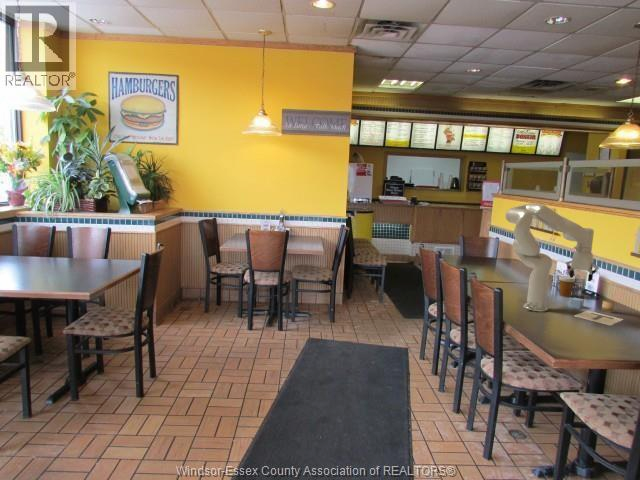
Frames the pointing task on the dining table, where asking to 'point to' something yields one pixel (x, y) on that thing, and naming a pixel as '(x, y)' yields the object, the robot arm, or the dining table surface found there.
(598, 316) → the letter mat
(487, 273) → the dining table surface
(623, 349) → the dining table surface
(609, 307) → the wood cylinder
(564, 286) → the disposable coffee cup
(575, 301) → the slate cube
